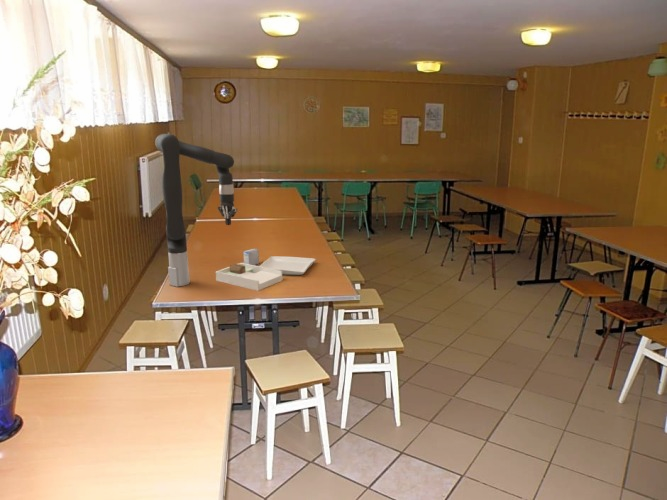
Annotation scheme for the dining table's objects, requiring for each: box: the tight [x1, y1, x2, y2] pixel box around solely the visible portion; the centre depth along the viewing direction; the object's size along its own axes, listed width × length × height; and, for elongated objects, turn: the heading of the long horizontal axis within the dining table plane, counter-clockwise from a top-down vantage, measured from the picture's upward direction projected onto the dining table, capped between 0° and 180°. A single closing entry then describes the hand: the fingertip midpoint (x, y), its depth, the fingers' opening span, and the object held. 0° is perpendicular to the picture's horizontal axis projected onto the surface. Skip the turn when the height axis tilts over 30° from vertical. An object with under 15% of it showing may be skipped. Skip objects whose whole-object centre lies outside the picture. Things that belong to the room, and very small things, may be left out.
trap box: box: [215, 262, 284, 292], centre depth 271 cm, size 19×29×5 cm, turn 56°
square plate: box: [259, 255, 317, 276], centre depth 291 cm, size 27×27×4 cm
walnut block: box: [229, 263, 246, 274], centre depth 276 cm, size 4×7×4 cm, turn 56°
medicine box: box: [242, 248, 260, 266], centre depth 298 cm, size 8×4×9 cm, turn 141°
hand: (228, 224), depth 278 cm, fingers closed
